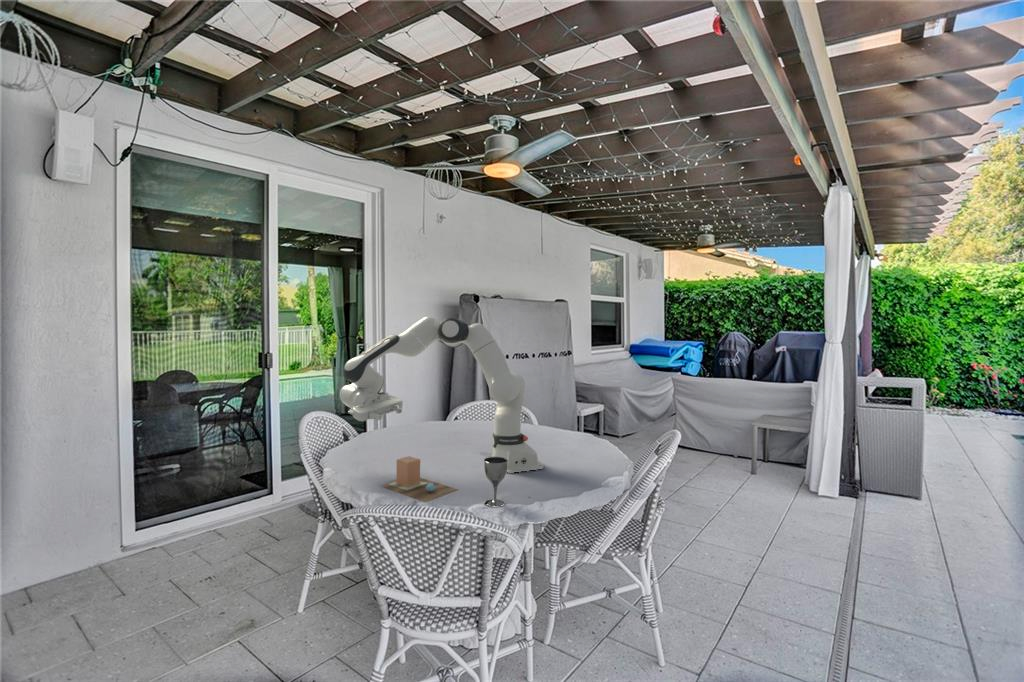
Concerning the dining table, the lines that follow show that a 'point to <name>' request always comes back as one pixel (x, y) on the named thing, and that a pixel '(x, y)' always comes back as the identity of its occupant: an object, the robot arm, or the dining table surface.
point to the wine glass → (495, 475)
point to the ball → (430, 487)
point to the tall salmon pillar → (408, 471)
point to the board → (421, 490)
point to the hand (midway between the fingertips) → (390, 414)
